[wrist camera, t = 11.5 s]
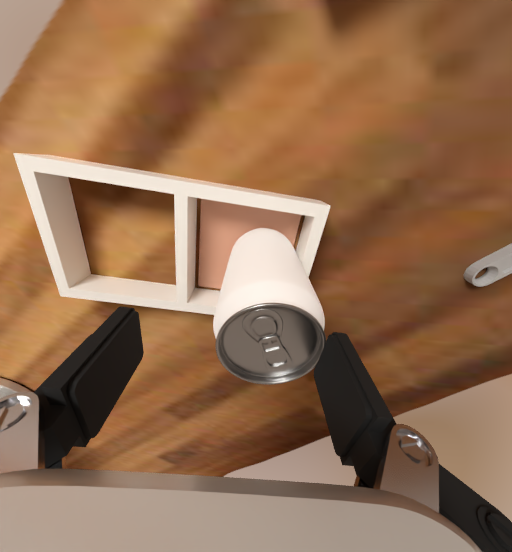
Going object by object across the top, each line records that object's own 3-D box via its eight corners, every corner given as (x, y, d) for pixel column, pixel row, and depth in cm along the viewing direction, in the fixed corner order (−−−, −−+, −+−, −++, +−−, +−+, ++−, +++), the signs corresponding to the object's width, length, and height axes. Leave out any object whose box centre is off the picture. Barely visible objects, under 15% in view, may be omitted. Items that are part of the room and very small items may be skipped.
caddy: (289, 307, 24) (294, 324, 22) (83, 281, 23) (60, 296, 20) (320, 200, 19) (330, 205, 16) (50, 155, 17) (13, 152, 15)
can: (284, 217, 19) (322, 278, 9) (300, 275, 22) (343, 375, 12) (220, 239, 20) (183, 318, 10) (243, 292, 23) (234, 399, 13)
